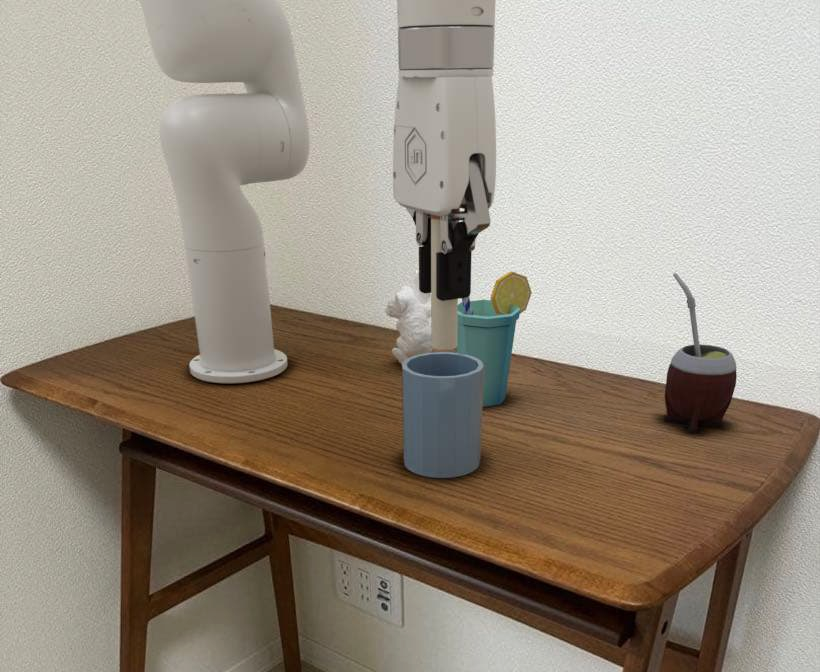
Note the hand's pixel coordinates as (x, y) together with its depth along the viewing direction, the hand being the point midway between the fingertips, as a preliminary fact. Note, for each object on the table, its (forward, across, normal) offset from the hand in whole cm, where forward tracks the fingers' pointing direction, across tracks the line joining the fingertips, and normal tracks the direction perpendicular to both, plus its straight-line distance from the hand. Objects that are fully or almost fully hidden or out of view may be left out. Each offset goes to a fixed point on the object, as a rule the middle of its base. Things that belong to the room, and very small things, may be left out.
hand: (444, 292), depth 73 cm
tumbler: (+17, 0, 0) cm, 17 cm away
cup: (+17, -13, +12) cm, 25 cm away
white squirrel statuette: (+17, -28, +12) cm, 35 cm away
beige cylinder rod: (+5, 0, 0) cm, 5 cm away
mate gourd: (+17, +4, +29) cm, 34 cm away
